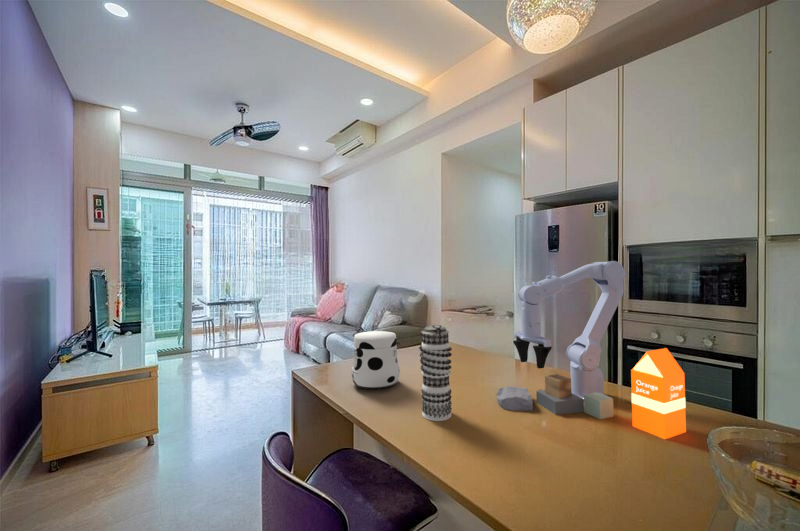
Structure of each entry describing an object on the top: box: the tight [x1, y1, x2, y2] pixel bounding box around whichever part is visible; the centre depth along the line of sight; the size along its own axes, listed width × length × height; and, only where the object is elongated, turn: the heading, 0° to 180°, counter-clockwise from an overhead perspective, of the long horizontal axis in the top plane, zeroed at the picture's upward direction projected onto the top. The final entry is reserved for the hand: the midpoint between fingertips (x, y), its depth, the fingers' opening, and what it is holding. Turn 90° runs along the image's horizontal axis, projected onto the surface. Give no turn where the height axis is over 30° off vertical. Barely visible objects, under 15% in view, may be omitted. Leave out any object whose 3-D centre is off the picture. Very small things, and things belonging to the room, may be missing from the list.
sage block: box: [583, 392, 614, 420], centre depth 94 cm, size 5×5×5 cm
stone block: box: [496, 386, 534, 412], centre depth 103 cm, size 12×5×10 cm
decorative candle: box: [418, 324, 453, 422], centre depth 96 cm, size 9×9×25 cm
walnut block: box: [544, 373, 572, 399], centre depth 100 cm, size 5×5×5 cm
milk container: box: [351, 330, 401, 390], centre depth 122 cm, size 17×17×18 cm
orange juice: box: [630, 347, 687, 440], centre depth 85 cm, size 8×9×20 cm
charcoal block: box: [535, 389, 585, 416], centre depth 100 cm, size 9×9×4 cm
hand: (532, 364), depth 109 cm, fingers open, 7 cm apart
